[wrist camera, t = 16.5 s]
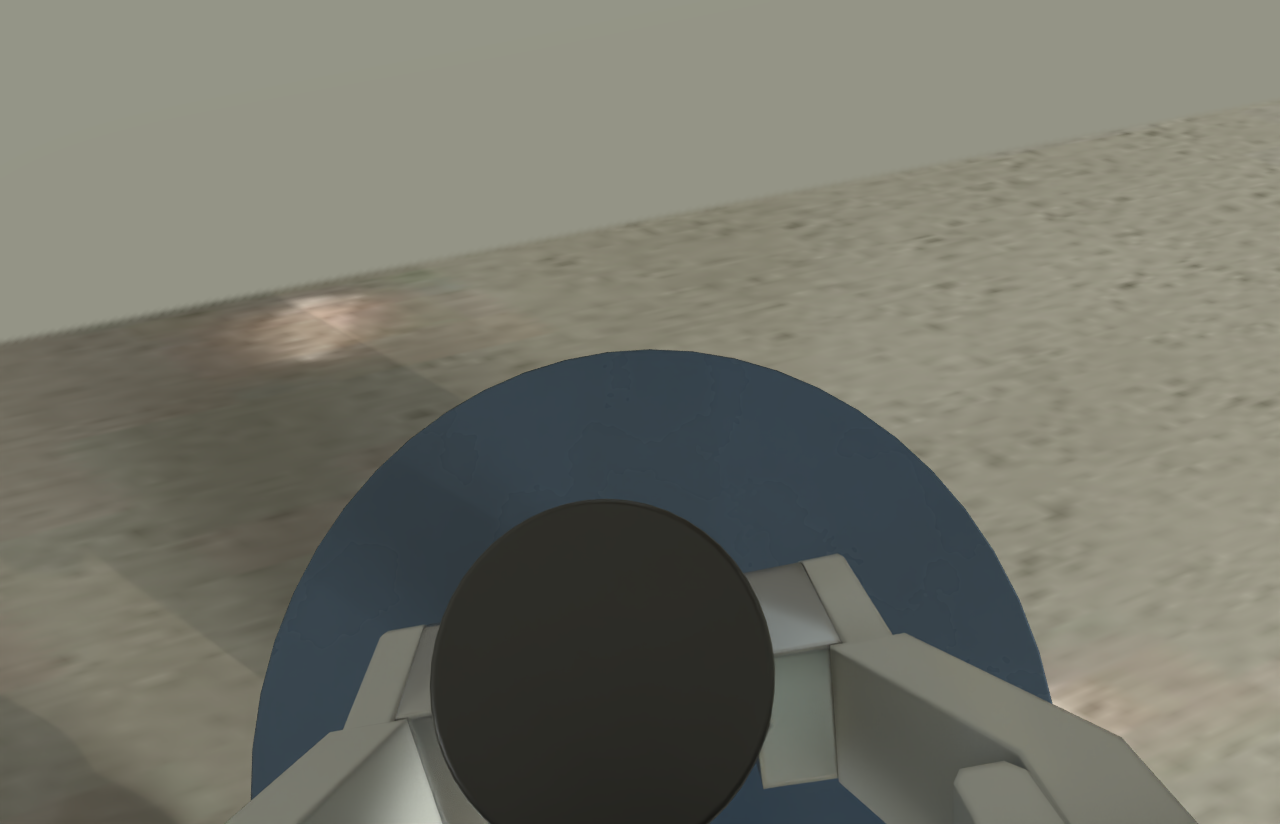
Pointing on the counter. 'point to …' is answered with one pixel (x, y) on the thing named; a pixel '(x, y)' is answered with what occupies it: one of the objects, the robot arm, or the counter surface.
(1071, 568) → the counter surface
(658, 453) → the lid
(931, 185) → the counter surface
